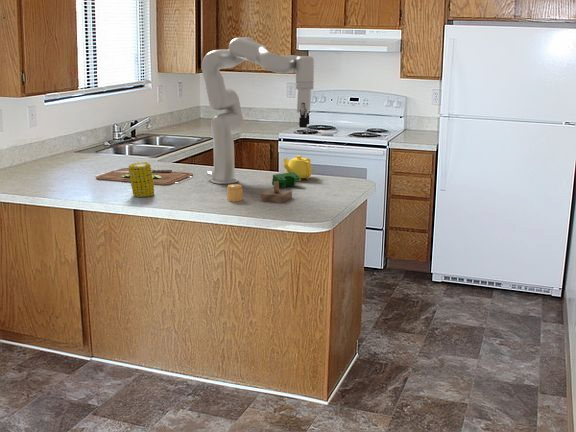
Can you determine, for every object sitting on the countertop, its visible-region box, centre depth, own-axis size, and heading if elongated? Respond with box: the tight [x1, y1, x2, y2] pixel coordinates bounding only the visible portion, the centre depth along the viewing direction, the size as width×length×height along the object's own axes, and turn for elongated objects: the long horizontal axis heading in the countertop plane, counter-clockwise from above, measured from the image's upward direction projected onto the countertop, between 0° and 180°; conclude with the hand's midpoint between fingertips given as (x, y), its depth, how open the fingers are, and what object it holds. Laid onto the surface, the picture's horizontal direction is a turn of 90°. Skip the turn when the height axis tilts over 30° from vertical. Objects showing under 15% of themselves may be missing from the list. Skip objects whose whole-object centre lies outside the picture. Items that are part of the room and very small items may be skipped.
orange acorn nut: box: [226, 183, 244, 202], centre depth 316 cm, size 6×6×6 cm
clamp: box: [271, 172, 300, 189], centre depth 341 cm, size 12×6×9 cm, turn 117°
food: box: [128, 161, 155, 198], centre depth 323 cm, size 15×12×10 cm
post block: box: [260, 181, 293, 204], centre depth 317 cm, size 10×10×8 cm
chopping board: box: [94, 167, 195, 187], centre depth 361 cm, size 45×27×3 cm, turn 69°
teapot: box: [282, 155, 313, 182], centre depth 357 cm, size 14×14×11 cm
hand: (304, 125), depth 326 cm, fingers open, 9 cm apart
